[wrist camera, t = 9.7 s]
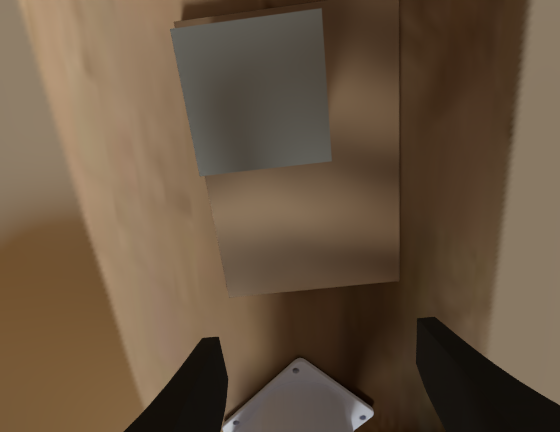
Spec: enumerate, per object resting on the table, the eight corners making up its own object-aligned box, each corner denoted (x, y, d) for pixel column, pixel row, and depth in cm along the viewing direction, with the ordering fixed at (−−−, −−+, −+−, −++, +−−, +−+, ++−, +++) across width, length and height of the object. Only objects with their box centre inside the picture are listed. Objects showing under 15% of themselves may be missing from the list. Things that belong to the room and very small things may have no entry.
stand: (394, 271, 23) (421, 318, 19) (231, 287, 24) (218, 336, 19) (391, -4, 18) (430, -37, 13) (180, 26, 18) (144, 4, 14)
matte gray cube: (317, 139, 19) (332, 161, 13) (224, 150, 19) (199, 176, 14) (309, 33, 17) (321, 7, 12) (206, 47, 18) (169, 28, 12)
